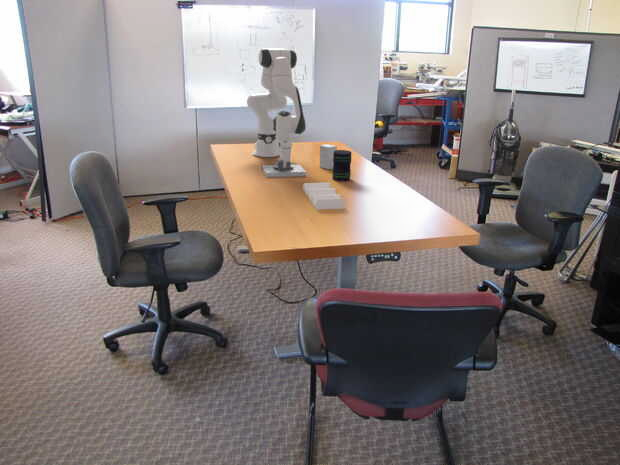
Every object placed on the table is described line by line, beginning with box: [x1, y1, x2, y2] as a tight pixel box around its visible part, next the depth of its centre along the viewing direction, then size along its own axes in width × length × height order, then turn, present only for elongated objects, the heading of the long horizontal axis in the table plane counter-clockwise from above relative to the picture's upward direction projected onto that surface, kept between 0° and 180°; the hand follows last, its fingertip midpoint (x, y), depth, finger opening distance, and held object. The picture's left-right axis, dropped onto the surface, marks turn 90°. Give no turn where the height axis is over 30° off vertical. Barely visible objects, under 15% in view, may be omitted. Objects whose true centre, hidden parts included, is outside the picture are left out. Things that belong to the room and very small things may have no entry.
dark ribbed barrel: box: [331, 149, 352, 182], centre depth 276 cm, size 10×10×15 cm
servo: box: [274, 159, 294, 170], centre depth 287 cm, size 4×10×6 cm, turn 102°
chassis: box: [261, 164, 307, 178], centre depth 288 cm, size 18×22×2 cm
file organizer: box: [302, 182, 346, 211], centre depth 244 cm, size 13×35×5 cm, turn 11°
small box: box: [319, 143, 338, 170], centre depth 301 cm, size 8×6×13 cm
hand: (283, 166), depth 287 cm, fingers closed on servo, 4 cm apart
